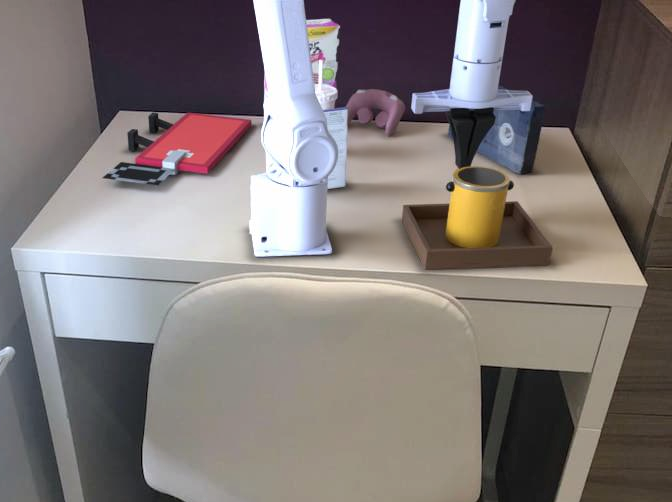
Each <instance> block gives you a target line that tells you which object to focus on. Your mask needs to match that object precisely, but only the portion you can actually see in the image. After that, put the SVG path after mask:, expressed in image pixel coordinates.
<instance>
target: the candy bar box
mask: <svg viewBox="0 0 672 502" xmlns="http://www.w3.org/2000/svg"><path fill="white" fill-rule="evenodd" d="M306 24H307V32H308V39H309V47H310V55H311V63H312V70H313V78H314V84H319V60H323V80H322V84H324V85H329V86H332V87H334V88H336V89H337V84H338V83H337V82H338V67H339V65H338V64H339V52H340V51H339V50H340V33H341V26H340V24H338V23H337V22H335V21H334V20H332V19H331V18H320V19H319V18H318V19H316V18H315V19H306ZM263 70H264V72H263V73H264V75H263V76H264V78H263V79H264V80H263V103H264V102H265V101H266V99H267V98H268V96H269V93H268V86H267V80H266V74H265V68H263ZM334 109H336V104H335V105H334ZM264 118H265V114H264V113H263V119H264Z"/></svg>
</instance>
